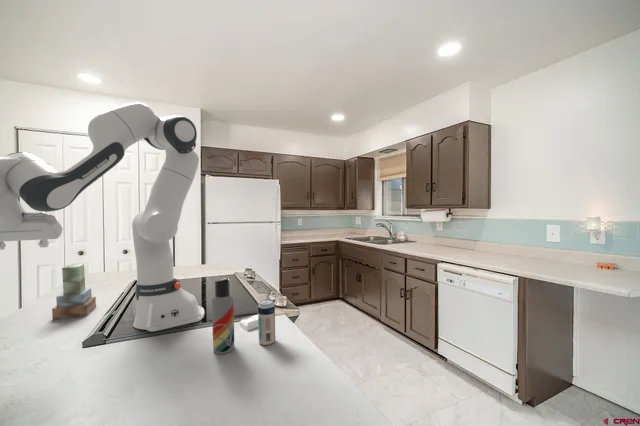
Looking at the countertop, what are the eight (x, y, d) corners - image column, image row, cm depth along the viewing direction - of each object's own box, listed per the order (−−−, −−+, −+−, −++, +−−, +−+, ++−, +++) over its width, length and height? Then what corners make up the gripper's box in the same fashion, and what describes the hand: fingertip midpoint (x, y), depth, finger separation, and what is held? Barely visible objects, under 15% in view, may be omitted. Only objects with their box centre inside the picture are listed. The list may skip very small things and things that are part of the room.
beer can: (278, 340, 85) (277, 300, 85) (269, 347, 81) (268, 305, 81) (265, 337, 87) (264, 298, 87) (255, 344, 83) (254, 303, 83)
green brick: (85, 289, 112) (84, 263, 112) (80, 292, 107) (79, 266, 107) (69, 290, 110) (67, 265, 110) (63, 294, 106) (62, 268, 105)
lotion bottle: (222, 356, 77) (220, 282, 76) (208, 351, 80) (206, 280, 79) (238, 347, 81) (237, 277, 81) (225, 342, 84) (223, 275, 84)
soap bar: (270, 323, 98) (270, 315, 98) (247, 331, 92) (246, 323, 92) (263, 319, 102) (263, 312, 102) (239, 327, 96) (239, 319, 96)
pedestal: (96, 306, 116) (95, 286, 115) (87, 315, 106) (86, 294, 106) (64, 310, 112) (63, 290, 111) (52, 319, 103) (51, 297, 102)
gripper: (55, 204, 79) (72, 236, 88) (-51, 205, 71) (-20, 240, 80) (48, 221, 75) (66, 252, 84) (-65, 224, 67) (-31, 258, 76)
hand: (23, 246), depth 82 cm, fingers open, 8 cm apart
